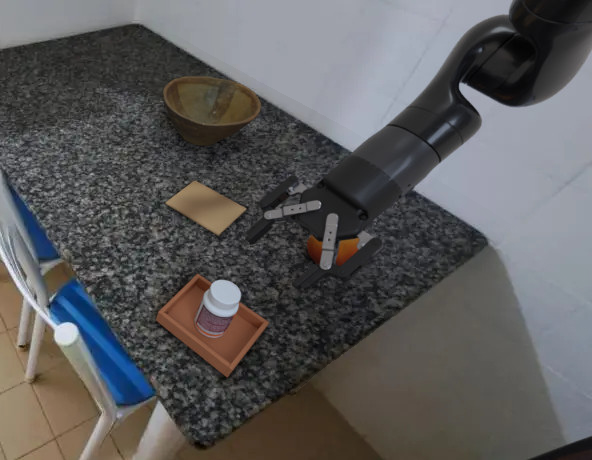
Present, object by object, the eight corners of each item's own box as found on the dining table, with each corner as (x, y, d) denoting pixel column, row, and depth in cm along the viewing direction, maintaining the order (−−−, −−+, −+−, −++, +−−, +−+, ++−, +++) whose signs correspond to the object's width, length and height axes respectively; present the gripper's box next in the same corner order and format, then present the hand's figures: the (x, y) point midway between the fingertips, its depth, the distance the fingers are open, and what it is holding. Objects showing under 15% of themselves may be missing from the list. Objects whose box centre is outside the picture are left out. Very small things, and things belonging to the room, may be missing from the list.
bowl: (264, 133, 95) (280, 94, 88) (218, 176, 83) (232, 135, 76) (186, 102, 105) (195, 65, 98) (135, 137, 93) (141, 97, 86)
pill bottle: (230, 339, 56) (248, 307, 50) (196, 338, 56) (211, 306, 50) (222, 310, 60) (239, 277, 53) (190, 310, 60) (204, 276, 53)
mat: (246, 210, 76) (246, 208, 75) (218, 236, 71) (218, 234, 71) (194, 181, 82) (194, 180, 81) (165, 203, 77) (165, 202, 76)
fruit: (332, 284, 62) (336, 236, 60) (296, 267, 69) (299, 224, 67) (376, 276, 63) (381, 229, 61) (336, 261, 71) (340, 218, 68)
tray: (263, 330, 58) (269, 322, 56) (227, 377, 53) (232, 370, 51) (194, 282, 64) (197, 273, 62) (155, 320, 59) (158, 311, 57)
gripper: (323, 130, 49) (225, 221, 54) (435, 199, 40) (306, 300, 45) (333, 155, 54) (243, 235, 59) (433, 220, 46) (318, 309, 50)
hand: (270, 263), depth 52 cm, fingers open, 8 cm apart
